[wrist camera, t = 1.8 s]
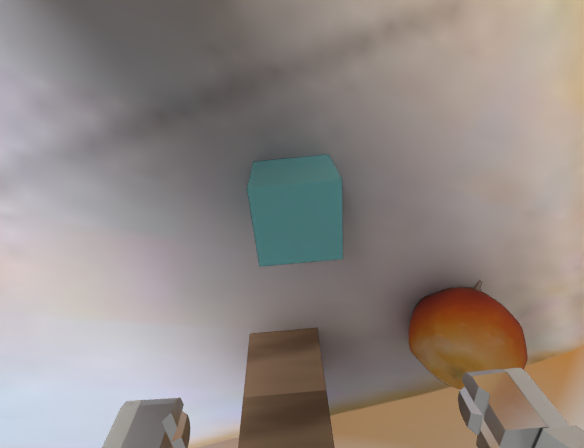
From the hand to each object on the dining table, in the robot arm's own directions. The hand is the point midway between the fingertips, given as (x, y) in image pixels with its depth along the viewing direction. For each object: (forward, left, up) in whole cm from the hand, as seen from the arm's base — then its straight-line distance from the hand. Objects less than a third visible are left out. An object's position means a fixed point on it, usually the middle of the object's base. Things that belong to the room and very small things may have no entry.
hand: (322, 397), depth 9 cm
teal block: (0, 0, -15) cm, 15 cm away
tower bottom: (+16, -2, -15) cm, 22 cm away
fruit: (+12, +12, -15) cm, 22 cm away
